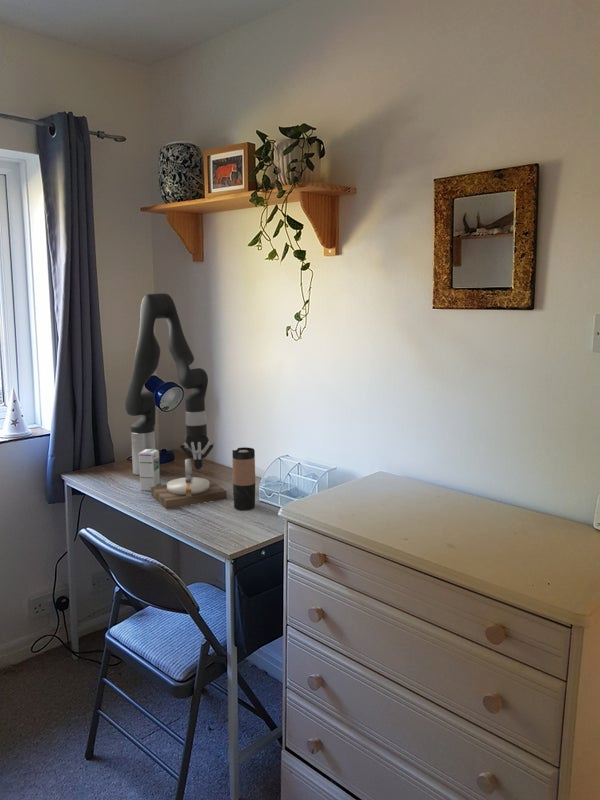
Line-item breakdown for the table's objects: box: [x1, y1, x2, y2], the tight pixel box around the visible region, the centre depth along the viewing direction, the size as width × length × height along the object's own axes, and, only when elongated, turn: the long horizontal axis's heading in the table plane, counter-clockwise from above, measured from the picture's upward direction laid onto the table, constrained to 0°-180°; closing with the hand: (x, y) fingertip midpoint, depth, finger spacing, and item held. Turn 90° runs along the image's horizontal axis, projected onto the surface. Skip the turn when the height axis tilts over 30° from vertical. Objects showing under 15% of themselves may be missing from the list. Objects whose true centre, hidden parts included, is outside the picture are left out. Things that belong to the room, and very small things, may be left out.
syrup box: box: [138, 448, 162, 492], centre depth 239 cm, size 6×6×14 cm
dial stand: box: [150, 478, 228, 510], centre depth 229 cm, size 18×22×5 cm
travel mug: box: [231, 446, 256, 511], centre depth 217 cm, size 8×8×20 cm
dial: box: [166, 458, 210, 495], centre depth 230 cm, size 19×15×8 cm
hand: (198, 468), depth 238 cm, fingers closed
